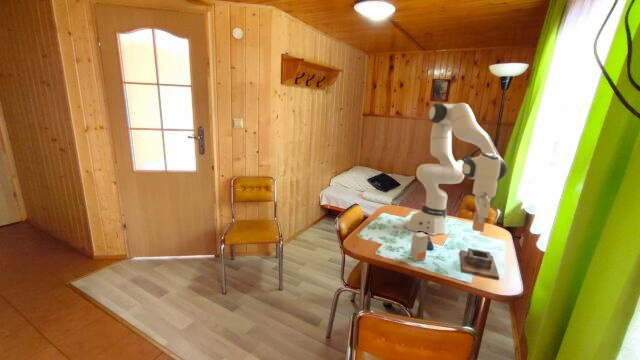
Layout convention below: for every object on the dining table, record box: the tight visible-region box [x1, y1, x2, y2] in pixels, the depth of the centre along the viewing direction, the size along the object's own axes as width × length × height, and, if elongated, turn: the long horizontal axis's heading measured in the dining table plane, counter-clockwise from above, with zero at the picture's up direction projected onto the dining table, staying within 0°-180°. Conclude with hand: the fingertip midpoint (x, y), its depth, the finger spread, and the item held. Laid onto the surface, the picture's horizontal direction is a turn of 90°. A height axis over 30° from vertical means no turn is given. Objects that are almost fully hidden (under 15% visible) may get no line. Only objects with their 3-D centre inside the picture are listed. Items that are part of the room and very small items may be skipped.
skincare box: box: [409, 232, 430, 261], centre depth 139 cm, size 6×4×12 cm
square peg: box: [472, 210, 486, 233], centre depth 132 cm, size 4×4×8 cm
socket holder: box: [459, 247, 500, 280], centre depth 136 cm, size 14×20×5 cm
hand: (479, 220), depth 132 cm, fingers closed on square peg, 4 cm apart
